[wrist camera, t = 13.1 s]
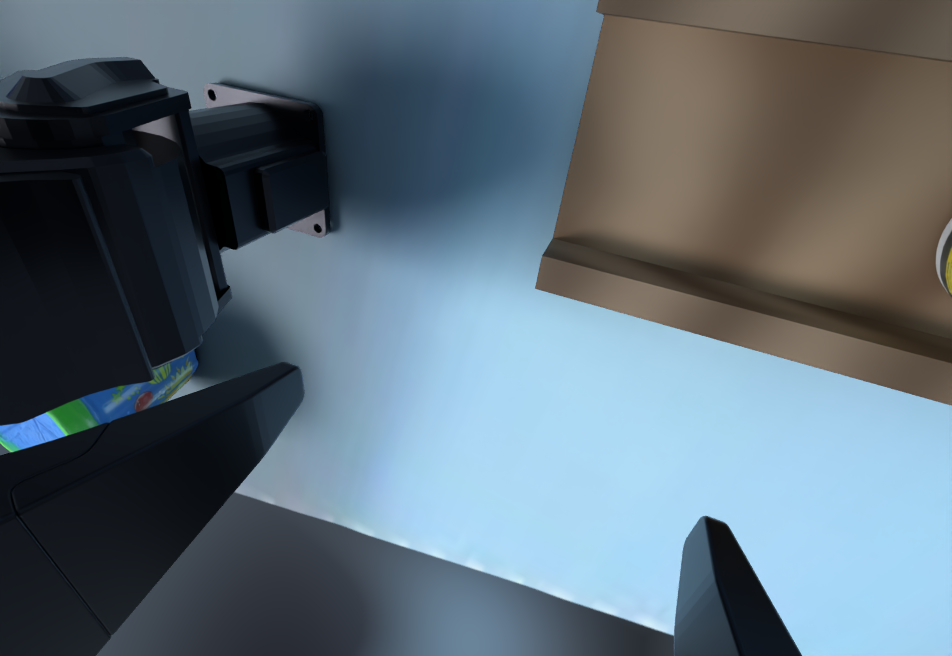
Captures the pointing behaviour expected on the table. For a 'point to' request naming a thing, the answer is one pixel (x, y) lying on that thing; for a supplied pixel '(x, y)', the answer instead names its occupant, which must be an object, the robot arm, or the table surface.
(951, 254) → the supplement bottle
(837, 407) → the table surface
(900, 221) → the walnut track
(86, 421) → the snack cup
